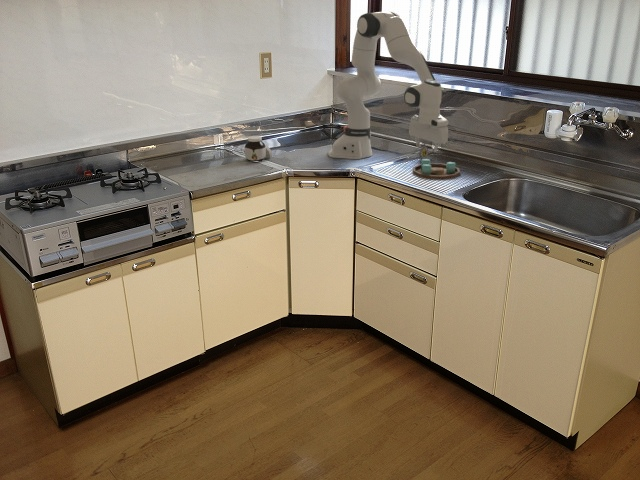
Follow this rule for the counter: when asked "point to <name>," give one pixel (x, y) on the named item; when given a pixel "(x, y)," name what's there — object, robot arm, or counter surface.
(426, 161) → the bead
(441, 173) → the ring tray
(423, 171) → the bead
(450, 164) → the bead
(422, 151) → the pocket watch
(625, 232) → the counter surface
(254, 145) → the spread jar
